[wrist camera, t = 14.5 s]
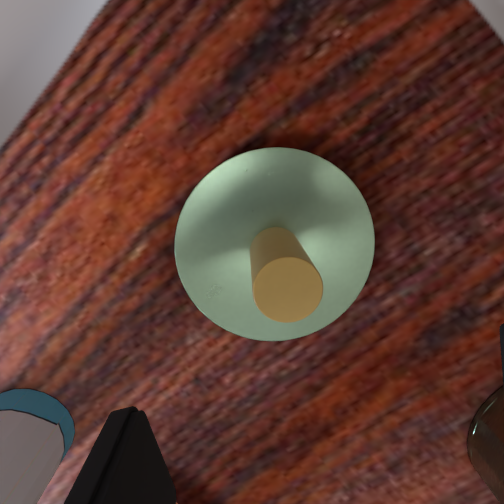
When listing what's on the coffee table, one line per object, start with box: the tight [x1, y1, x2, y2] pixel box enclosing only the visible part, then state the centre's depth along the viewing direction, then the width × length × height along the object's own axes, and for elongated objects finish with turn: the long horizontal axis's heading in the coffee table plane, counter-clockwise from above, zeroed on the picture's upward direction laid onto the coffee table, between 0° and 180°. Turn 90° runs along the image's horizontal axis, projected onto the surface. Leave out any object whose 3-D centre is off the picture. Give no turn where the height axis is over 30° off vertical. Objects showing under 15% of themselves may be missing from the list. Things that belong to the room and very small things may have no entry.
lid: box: [174, 147, 375, 341], centre depth 19 cm, size 13×13×8 cm
